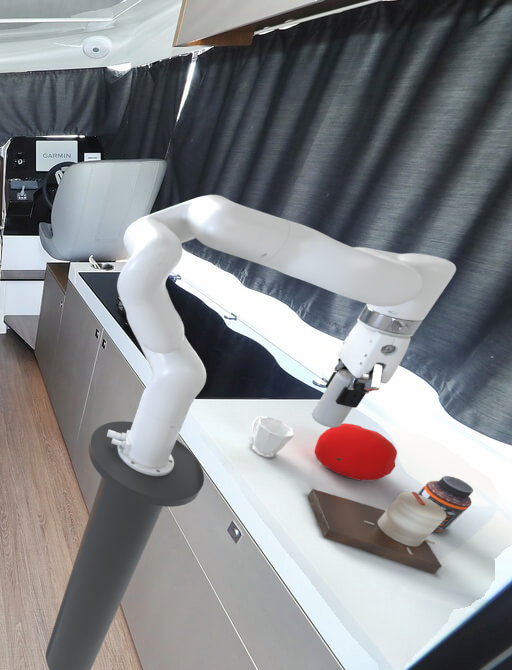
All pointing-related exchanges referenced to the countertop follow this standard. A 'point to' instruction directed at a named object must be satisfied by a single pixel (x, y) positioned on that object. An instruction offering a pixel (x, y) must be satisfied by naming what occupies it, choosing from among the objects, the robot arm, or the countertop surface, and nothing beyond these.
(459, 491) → the supplement bottle
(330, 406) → the beverage can
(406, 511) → the cream dial knob
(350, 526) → the dial plaque
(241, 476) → the countertop surface
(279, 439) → the cup
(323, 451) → the tomato
